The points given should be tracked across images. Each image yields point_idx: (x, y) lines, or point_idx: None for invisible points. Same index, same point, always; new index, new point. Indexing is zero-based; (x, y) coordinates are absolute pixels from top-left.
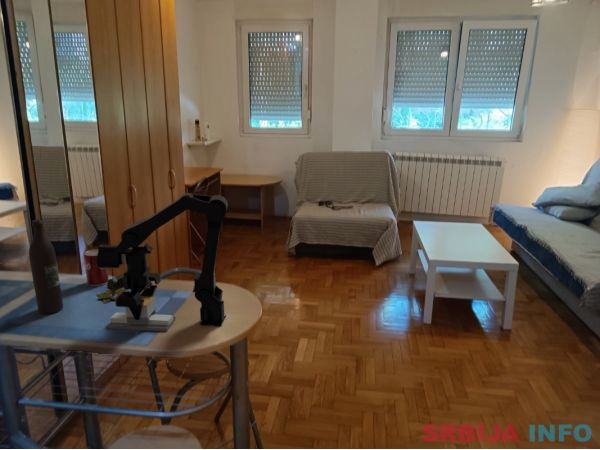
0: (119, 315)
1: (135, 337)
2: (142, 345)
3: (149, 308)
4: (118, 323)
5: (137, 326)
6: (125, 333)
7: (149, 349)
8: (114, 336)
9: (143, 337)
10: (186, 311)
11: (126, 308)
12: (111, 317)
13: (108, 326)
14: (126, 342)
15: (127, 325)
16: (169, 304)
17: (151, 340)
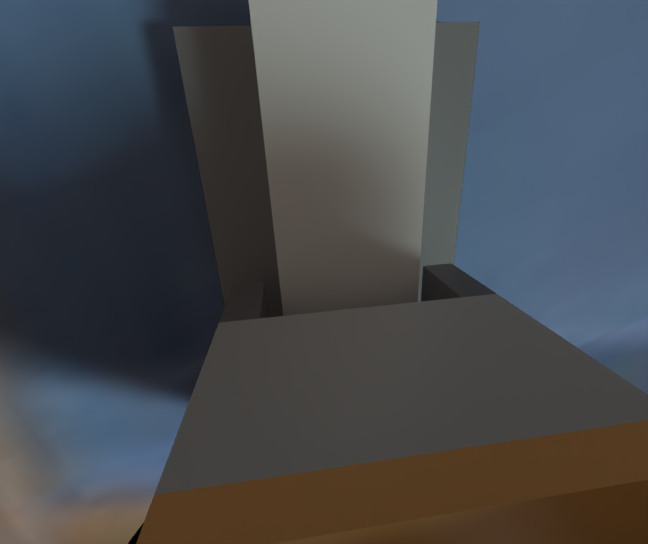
0: (346, 116)
1: (124, 391)
2: (45, 481)
3: None
4: (249, 152)
5: None
6: (152, 287)
7: (24, 533)
8: (59, 216)
9: (147, 438)
10: None
11: (180, 454)
12: (267, 8)
13: (177, 39)
14: (22, 369)
15: (235, 273)
16: (644, 370)
17: (131, 495)
